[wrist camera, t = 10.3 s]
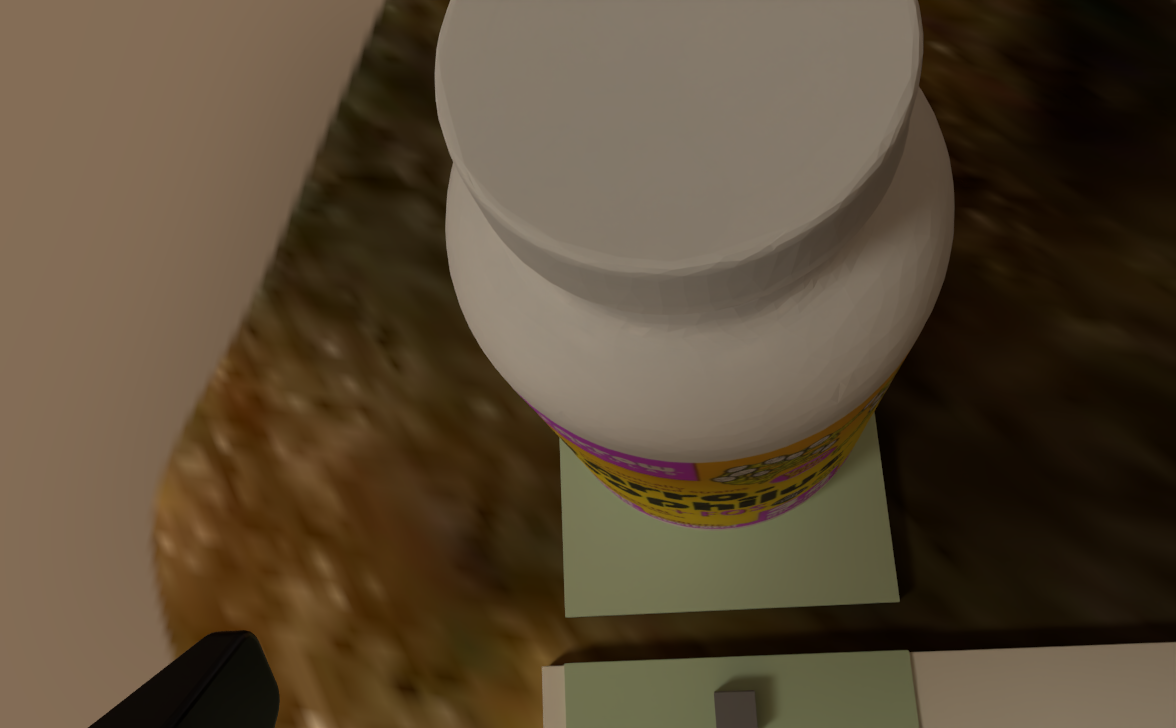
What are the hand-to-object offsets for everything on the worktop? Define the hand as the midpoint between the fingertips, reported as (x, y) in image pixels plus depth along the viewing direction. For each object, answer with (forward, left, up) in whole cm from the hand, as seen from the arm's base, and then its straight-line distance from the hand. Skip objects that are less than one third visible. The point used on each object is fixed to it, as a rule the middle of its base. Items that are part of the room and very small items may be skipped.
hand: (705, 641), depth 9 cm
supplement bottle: (+5, 0, -11) cm, 13 cm away
